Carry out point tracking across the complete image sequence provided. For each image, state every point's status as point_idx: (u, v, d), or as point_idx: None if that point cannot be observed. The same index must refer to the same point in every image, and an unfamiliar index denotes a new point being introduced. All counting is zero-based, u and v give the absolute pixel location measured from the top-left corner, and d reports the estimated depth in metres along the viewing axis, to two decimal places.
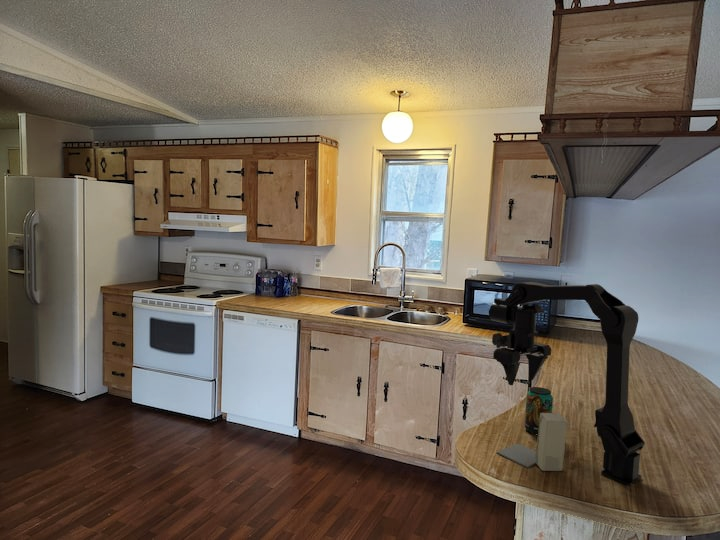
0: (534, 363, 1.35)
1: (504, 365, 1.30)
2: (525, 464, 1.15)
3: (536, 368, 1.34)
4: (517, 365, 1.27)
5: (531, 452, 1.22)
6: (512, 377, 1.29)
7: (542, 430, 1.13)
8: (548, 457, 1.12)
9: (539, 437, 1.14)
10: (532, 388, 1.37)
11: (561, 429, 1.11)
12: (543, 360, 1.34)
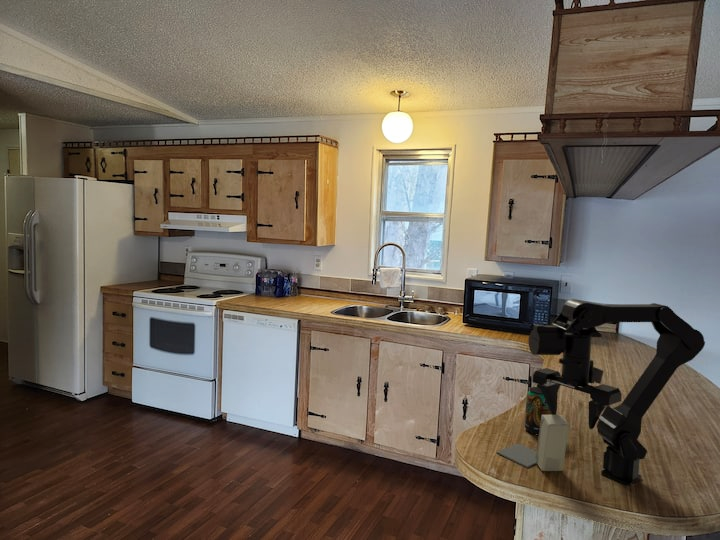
0: None
1: None
2: (525, 464, 1.15)
3: None
4: (542, 389, 1.13)
5: (531, 452, 1.22)
6: None
7: (544, 432, 1.11)
8: (549, 459, 1.12)
9: (540, 438, 1.13)
10: (532, 388, 1.37)
11: (563, 433, 1.10)
12: (591, 406, 1.03)
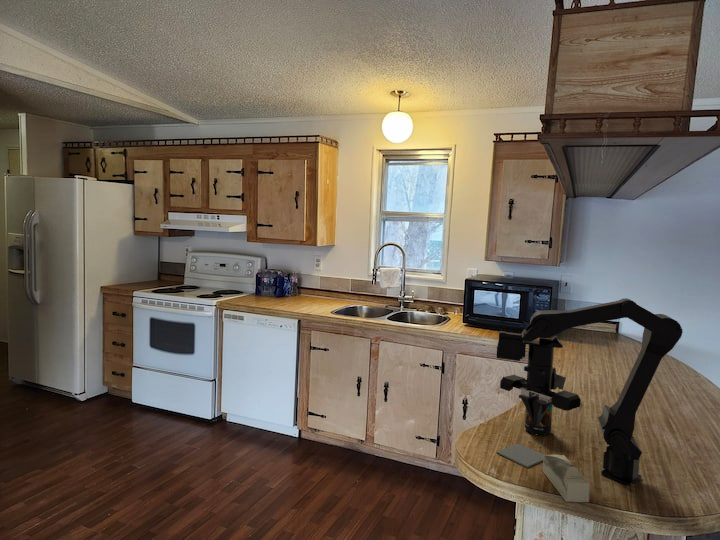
0: None
1: None
2: (525, 464, 1.15)
3: None
4: (524, 400, 1.16)
5: (531, 452, 1.22)
6: None
7: (559, 486, 1.03)
8: None
9: (555, 474, 1.05)
10: None
11: None
12: (536, 405, 1.14)
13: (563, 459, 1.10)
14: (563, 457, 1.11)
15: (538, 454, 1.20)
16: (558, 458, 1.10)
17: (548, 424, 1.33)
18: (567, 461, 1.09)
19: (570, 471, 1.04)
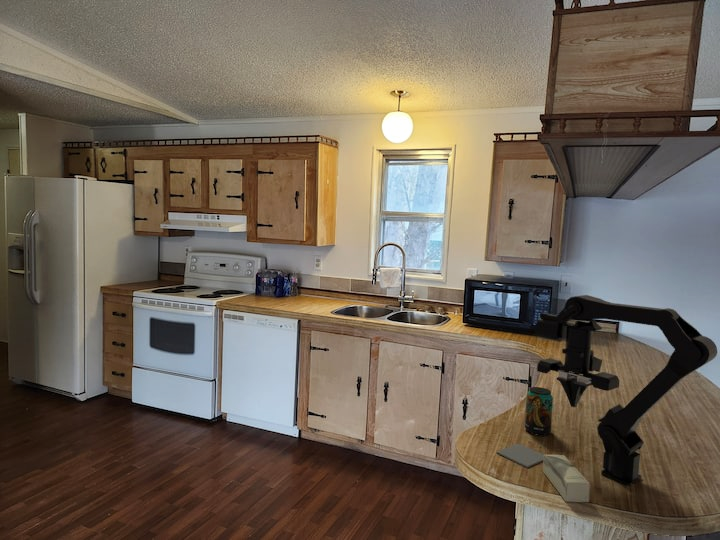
0: None
1: None
2: (525, 464, 1.15)
3: None
4: (562, 382, 1.19)
5: (531, 452, 1.22)
6: None
7: (559, 486, 1.03)
8: None
9: (555, 474, 1.05)
10: (532, 388, 1.37)
11: None
12: (574, 386, 1.16)
13: (563, 459, 1.10)
14: (563, 457, 1.11)
15: (538, 454, 1.20)
16: (558, 458, 1.10)
17: (548, 424, 1.33)
18: (567, 461, 1.09)
19: (570, 471, 1.04)
